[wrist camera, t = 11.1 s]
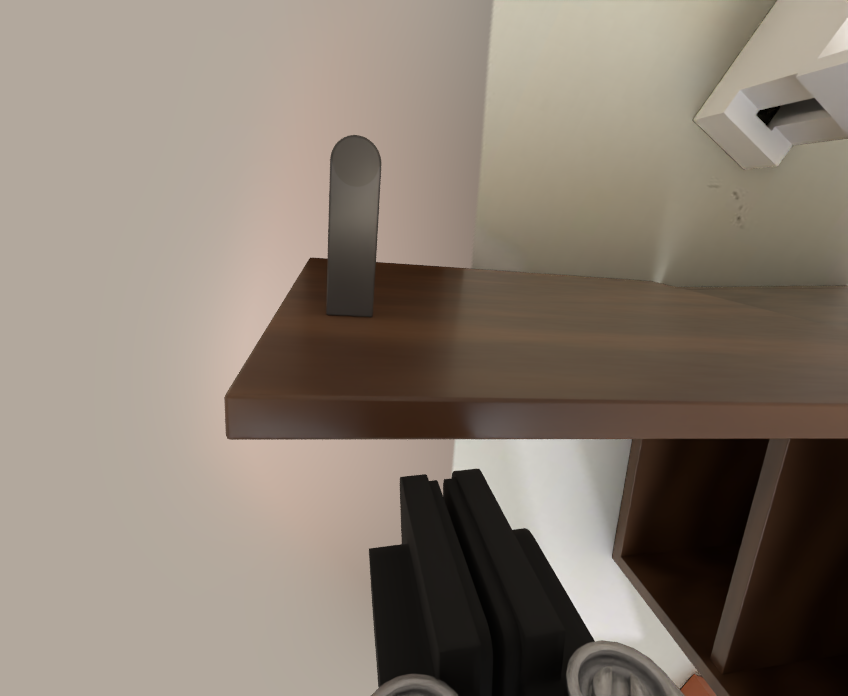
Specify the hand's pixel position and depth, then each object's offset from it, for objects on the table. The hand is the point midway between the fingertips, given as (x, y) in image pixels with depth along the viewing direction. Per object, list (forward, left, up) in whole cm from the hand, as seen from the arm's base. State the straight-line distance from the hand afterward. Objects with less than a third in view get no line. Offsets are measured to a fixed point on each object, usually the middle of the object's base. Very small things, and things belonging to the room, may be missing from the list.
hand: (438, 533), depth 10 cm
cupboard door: (+9, -6, -25) cm, 27 cm away
